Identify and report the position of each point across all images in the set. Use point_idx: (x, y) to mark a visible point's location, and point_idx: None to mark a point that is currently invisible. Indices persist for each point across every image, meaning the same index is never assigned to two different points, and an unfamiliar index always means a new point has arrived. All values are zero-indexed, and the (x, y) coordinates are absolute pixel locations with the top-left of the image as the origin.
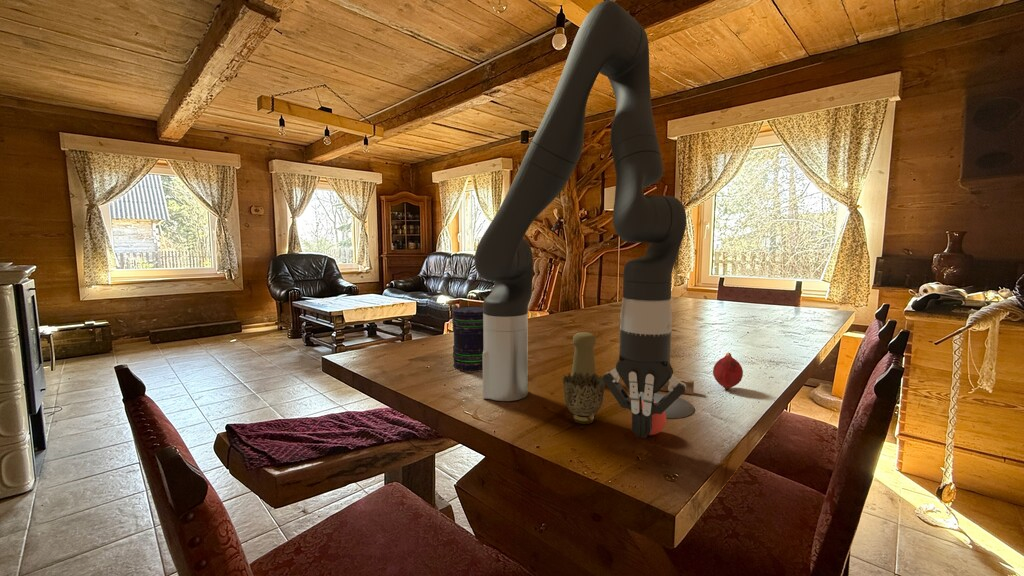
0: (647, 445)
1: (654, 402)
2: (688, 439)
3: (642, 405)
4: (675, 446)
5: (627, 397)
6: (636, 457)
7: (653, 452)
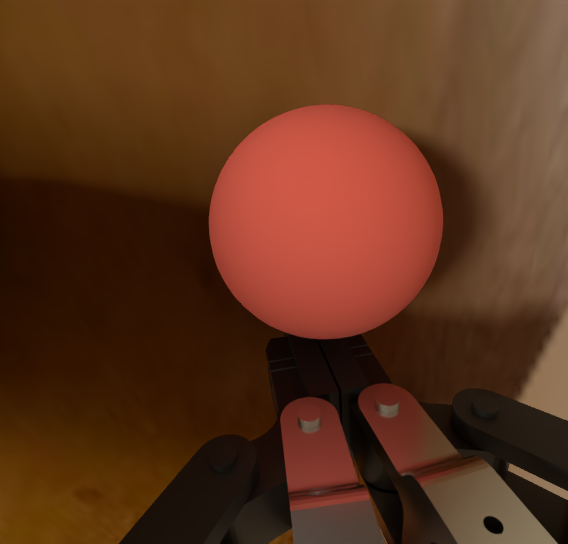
0: None
1: (398, 244)
2: (485, 154)
3: (313, 322)
4: None
5: (240, 515)
6: None
7: None
